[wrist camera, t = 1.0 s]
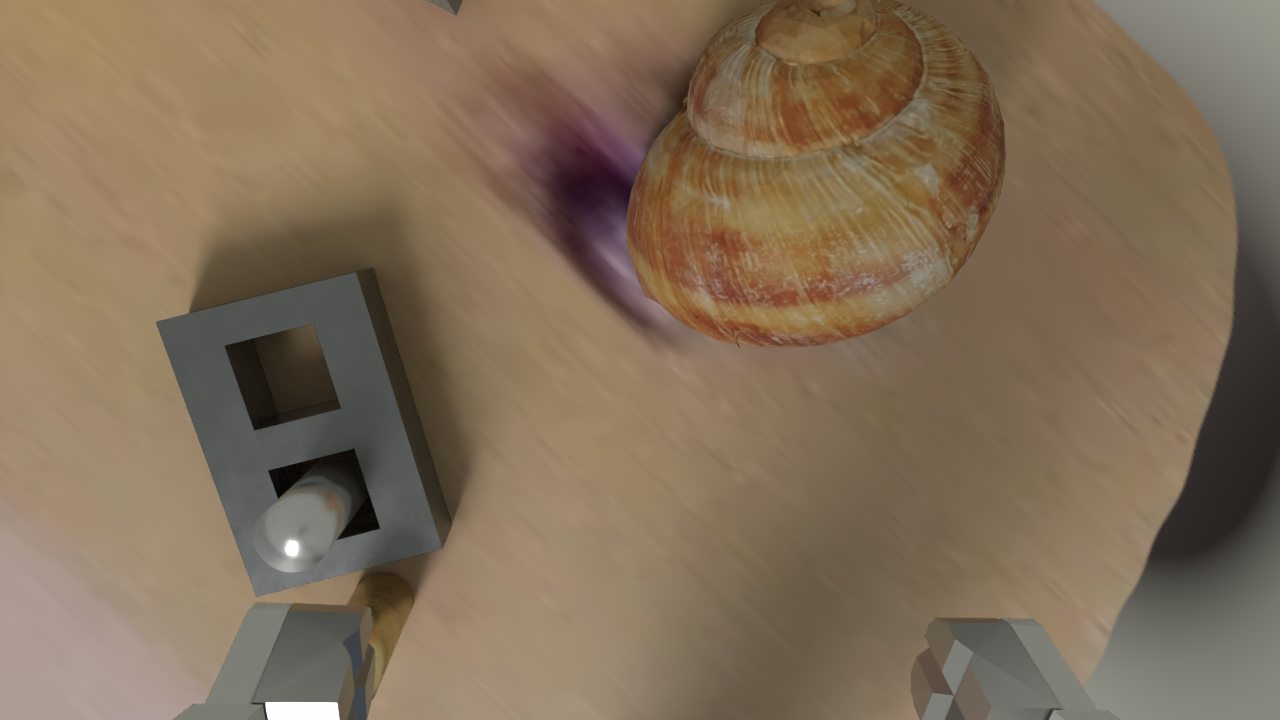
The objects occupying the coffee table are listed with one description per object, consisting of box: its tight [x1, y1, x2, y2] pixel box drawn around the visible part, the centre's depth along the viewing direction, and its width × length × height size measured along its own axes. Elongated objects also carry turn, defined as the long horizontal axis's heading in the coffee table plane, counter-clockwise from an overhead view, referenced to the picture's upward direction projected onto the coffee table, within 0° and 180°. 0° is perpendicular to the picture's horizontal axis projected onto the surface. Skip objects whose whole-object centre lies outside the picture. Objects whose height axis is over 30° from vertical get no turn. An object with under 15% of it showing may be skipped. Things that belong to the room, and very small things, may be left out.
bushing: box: [346, 573, 413, 699], centre depth 51 cm, size 4×4×10 cm
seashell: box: [626, 0, 1005, 348], centre depth 46 cm, size 21×20×15 cm
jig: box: [156, 268, 452, 597], centre depth 49 cm, size 18×12×10 cm, turn 13°
